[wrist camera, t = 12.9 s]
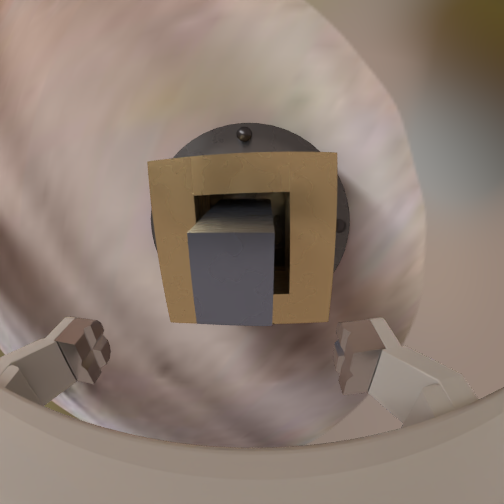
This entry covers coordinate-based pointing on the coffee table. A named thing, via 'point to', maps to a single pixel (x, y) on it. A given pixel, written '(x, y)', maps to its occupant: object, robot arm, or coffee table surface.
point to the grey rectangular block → (233, 263)
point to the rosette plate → (254, 187)
